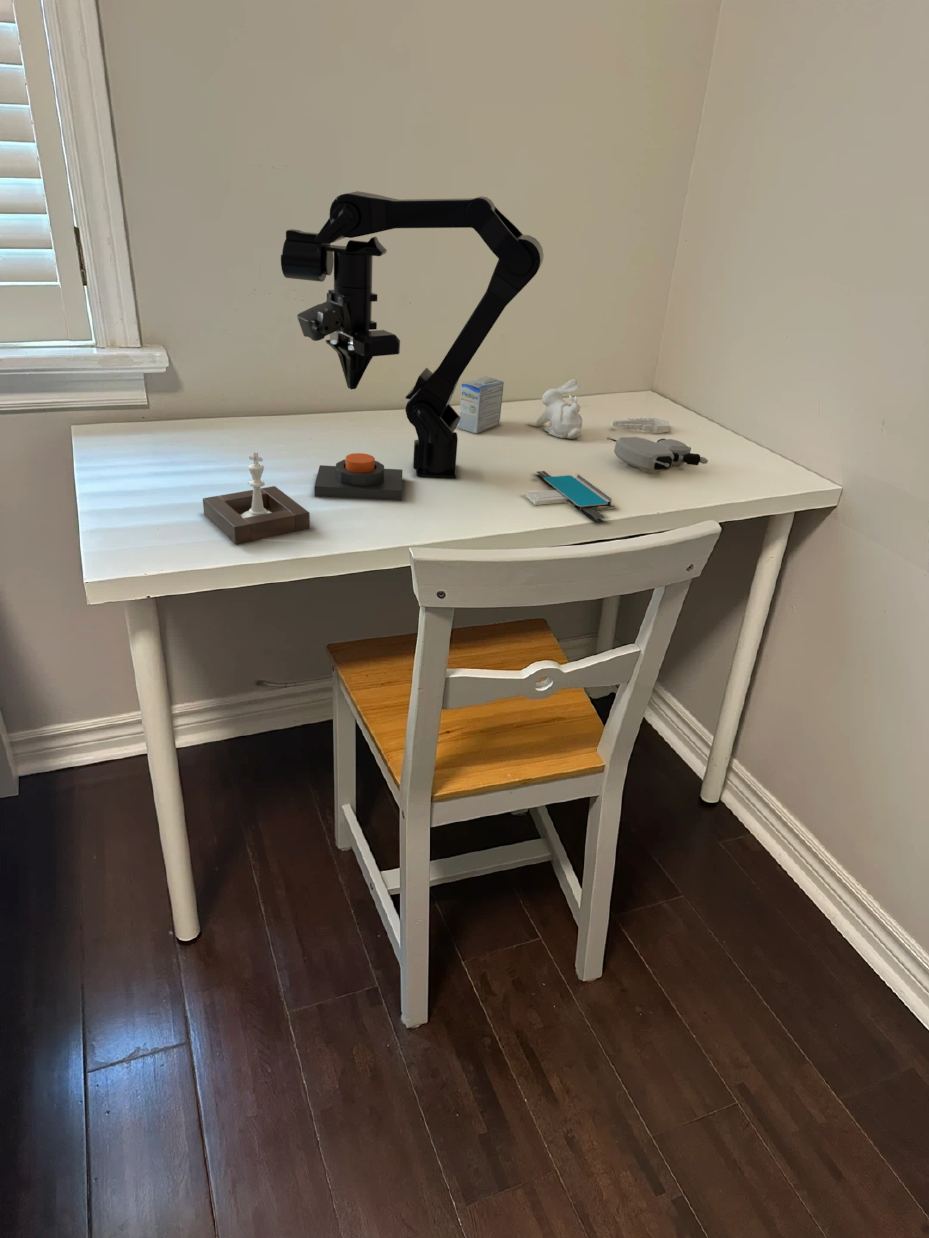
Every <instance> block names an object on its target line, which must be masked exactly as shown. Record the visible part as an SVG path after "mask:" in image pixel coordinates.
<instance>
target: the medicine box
mask: <svg viewBox="0 0 929 1238" xmlns="http://www.w3.org/2000/svg"><path fill="white" fill-rule="evenodd" d="M504 385H505V382H504V381H503V380H500V379H497V378H493V377H489V376H482V377H478V378H475V379H472V380H468V381H466V382H462V383H461V387H460V400H459V412H458V413H459V414H458V415H459V416H460V421H459V423H458V425H457V427H458V428H459V429H460V430H463V431H466V432H469V433H472V434H478V433H481V432H484V431H486V430H489V429H491V428H495V427H497V426H500V423H501V414H502V405H503V404H502V403H503V396H504V395H503V394H504V387H505V386H504Z"/></svg>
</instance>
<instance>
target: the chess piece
mask: <svg viewBox="0 0 929 1238" xmlns="http://www.w3.org/2000/svg"><path fill="white" fill-rule="evenodd" d="M249 460H250V461H253V463H251V464H249V465H248V471H249V473H250V476H251V478H252V479H251V480H249V481H248V485H249V486H250V487H252V490H253V499H252V507H251V509H249V511H246V512H244V513H243V514H241V515H240V516H242V517H243V518H247V517H252V516H257V515H263V514H268V513H272V512H271V511H269V510H266V509H265V508H264V506H263V501H262V495H261V488H263V487H264V486H265V485H266V483H265V481H264V480H263V479H262V476H263V475H262V474H263V472H264V470H265V466H264V465H263V464H261V463H259V462H263V461H264V460H263V457H261V456H259V452H258V451H253V455H249Z"/></svg>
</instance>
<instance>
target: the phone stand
mask: <svg viewBox="0 0 929 1238" xmlns="http://www.w3.org/2000/svg"><path fill="white" fill-rule="evenodd" d="M536 473H537V474H535V476H536V477H537V478H538V479H539V481H541V482H542V483H543V484H545V485H546V486H548V487H549V490H537V491H526V492H525V495H524V497H525V498H526V499H527V500H528V501H530V502H531V503H532V504H534V505H535V506H540V505H550V504H552V505H553V504H561V503H562V504H563V503H568V504H569V505H570V506H572V507H574V508H575V509H576V510H577V511H578V512H580V513H581V514H582V515H584V516H585V517H586V518H587V519H589V520H591V521H592V522H593V523H595V524H597V523H598V524H599V523H604V522H605V521H604V520H602V519H606V517H605V516H604V515H603V514H602V513H600V512H599V511H607V510H608V511H609V510H616V506H615V505H612V502H613V498H612V497H610V496H609V495H607V494H606V493H605V492H603V491H602V490H601V489H600V488H598V487H596V486H595V485H593V483H591V482H589V481H588V480H587V479H586V478H584V477H583V476H581V475H580V474H578V473H577V475H576V476H575V477H574V476H573V475H570V474H569V475H556V476H554V475H553V476H551V474H549V473H547V471H545V470H541V471H540V470H539V471H536ZM533 480H536V479H533Z"/></svg>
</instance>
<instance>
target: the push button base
mask: <svg viewBox="0 0 929 1238" xmlns="http://www.w3.org/2000/svg"><path fill="white" fill-rule="evenodd" d="M313 490H314V491H313V493H314V497H315V498H330V499H331V498H333V499H351V500H354V499H355V500H372V501H373V500H374V501H375V500H376V501H392V502H393V501H394V502H395V501H396V502H402V501H403V469H401V468H399V469H397V468H385V465H384V464H383V463H381V462H380V461H378V460H375V469H374V470H373V471H371V472H364V473H363V472H352V471H348V470H347V469H346V458H344V459H342V460H340V461H338V462H336V464H335V465H321V464H320V465H319V467H318V470H317V475H316V479H315V483H314V489H313Z"/></svg>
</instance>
